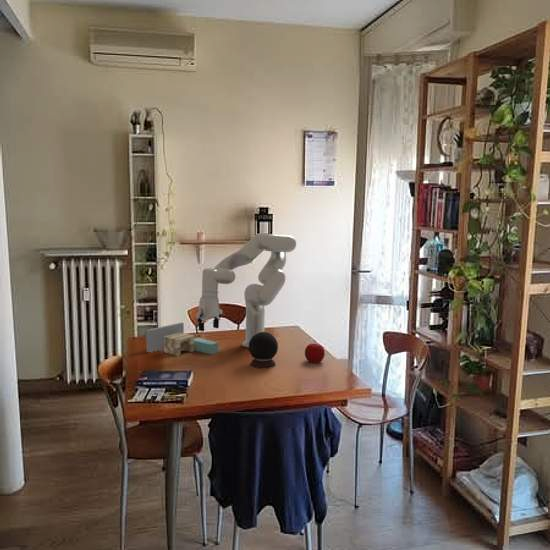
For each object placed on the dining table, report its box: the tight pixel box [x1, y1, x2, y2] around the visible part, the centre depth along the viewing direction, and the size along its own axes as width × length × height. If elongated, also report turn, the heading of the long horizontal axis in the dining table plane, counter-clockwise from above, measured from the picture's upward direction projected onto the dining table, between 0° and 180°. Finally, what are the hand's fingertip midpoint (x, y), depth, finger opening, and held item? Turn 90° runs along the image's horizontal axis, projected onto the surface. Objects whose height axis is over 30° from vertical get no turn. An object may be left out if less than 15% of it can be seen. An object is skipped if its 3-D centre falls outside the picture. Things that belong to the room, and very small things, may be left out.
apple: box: [304, 340, 326, 364], centre depth 245 cm, size 9×9×10 cm
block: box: [163, 332, 195, 357], centre depth 257 cm, size 9×11×8 cm
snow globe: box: [248, 331, 279, 369], centre depth 239 cm, size 13×13×15 cm
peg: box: [194, 337, 219, 355], centre depth 261 cm, size 14×5×5 cm, turn 51°
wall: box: [145, 322, 185, 353], centre depth 263 cm, size 2×22×11 cm, turn 141°
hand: (208, 329), depth 257 cm, fingers open, 9 cm apart
